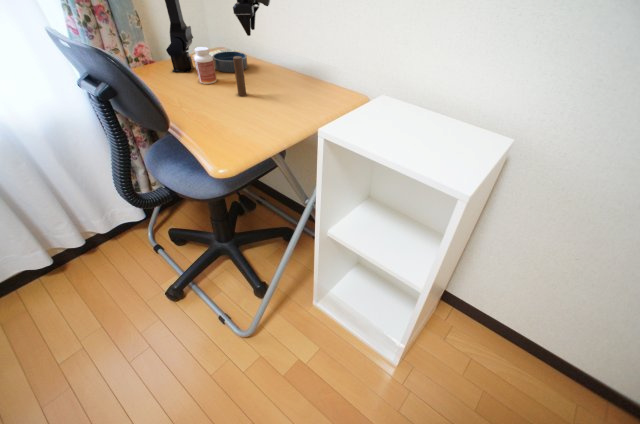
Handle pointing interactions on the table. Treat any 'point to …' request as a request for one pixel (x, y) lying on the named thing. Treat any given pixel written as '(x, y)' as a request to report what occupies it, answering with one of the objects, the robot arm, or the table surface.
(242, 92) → the stick
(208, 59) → the pill bottle
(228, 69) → the bowl
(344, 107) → the table surface
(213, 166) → the table surface
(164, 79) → the table surface
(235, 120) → the table surface
